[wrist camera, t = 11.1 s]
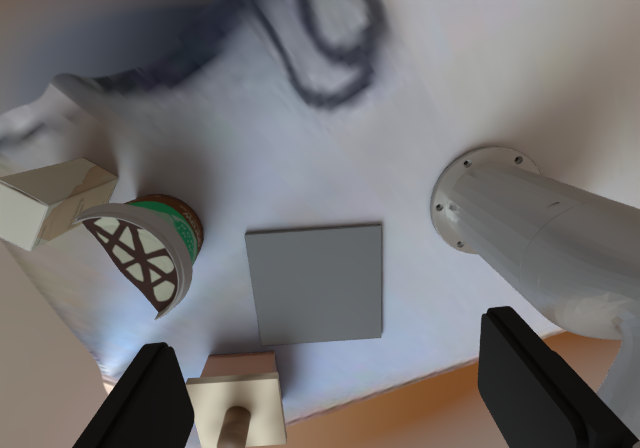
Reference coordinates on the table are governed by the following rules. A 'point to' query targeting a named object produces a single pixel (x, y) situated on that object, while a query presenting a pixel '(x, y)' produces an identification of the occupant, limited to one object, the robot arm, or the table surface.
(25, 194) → the box
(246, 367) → the open square bin
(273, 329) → the mat
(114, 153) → the table surface
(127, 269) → the food container
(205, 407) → the lid
